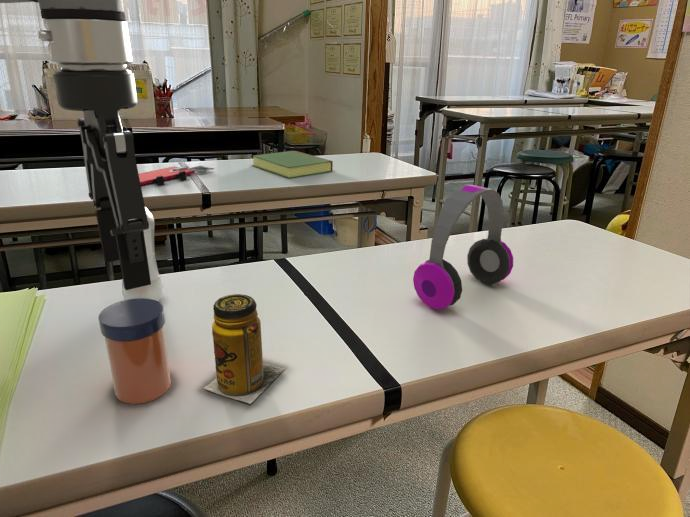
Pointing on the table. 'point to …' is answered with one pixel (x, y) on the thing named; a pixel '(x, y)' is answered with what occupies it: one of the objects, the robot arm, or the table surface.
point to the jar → (139, 368)
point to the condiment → (239, 350)
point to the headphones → (483, 257)
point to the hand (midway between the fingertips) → (126, 271)
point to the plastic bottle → (156, 285)
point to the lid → (131, 319)
